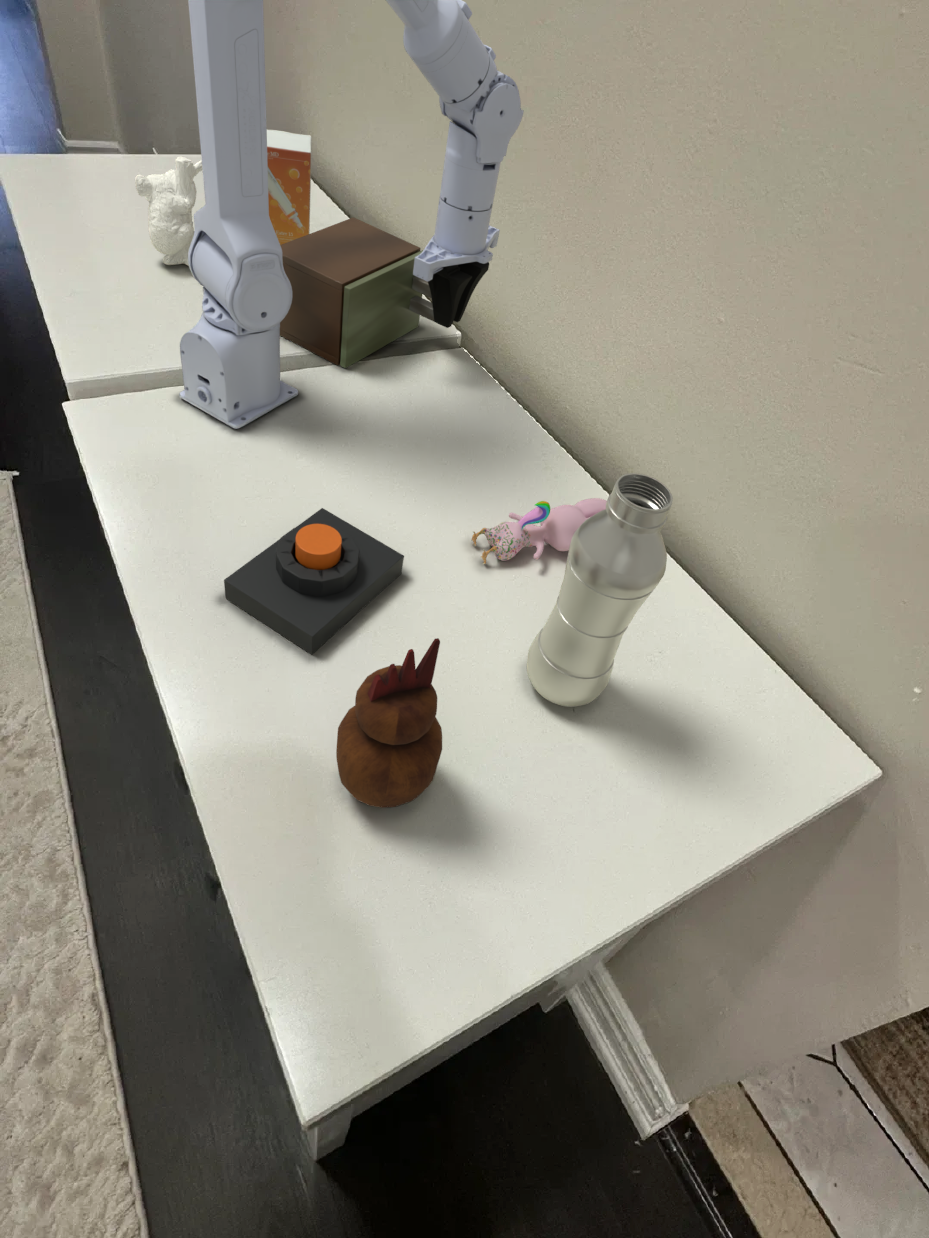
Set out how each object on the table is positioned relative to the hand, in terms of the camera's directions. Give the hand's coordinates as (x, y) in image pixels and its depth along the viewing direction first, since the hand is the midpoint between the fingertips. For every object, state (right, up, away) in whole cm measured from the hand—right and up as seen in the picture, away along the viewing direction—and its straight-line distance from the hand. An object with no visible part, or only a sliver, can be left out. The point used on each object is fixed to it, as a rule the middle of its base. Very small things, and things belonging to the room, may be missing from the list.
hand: (447, 321), depth 91 cm
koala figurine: (-34, +10, +7) cm, 36 cm away
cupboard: (-13, 0, +2) cm, 13 cm away
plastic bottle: (+10, -41, -29) cm, 51 cm away
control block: (-10, -33, -27) cm, 43 cm away
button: (-10, -30, -29) cm, 43 cm away
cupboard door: (-6, -4, 0) cm, 7 cm away
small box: (-23, +16, +14) cm, 32 cm away
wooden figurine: (-4, -47, -38) cm, 60 cm away
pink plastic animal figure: (+10, -29, -18) cm, 35 cm away
